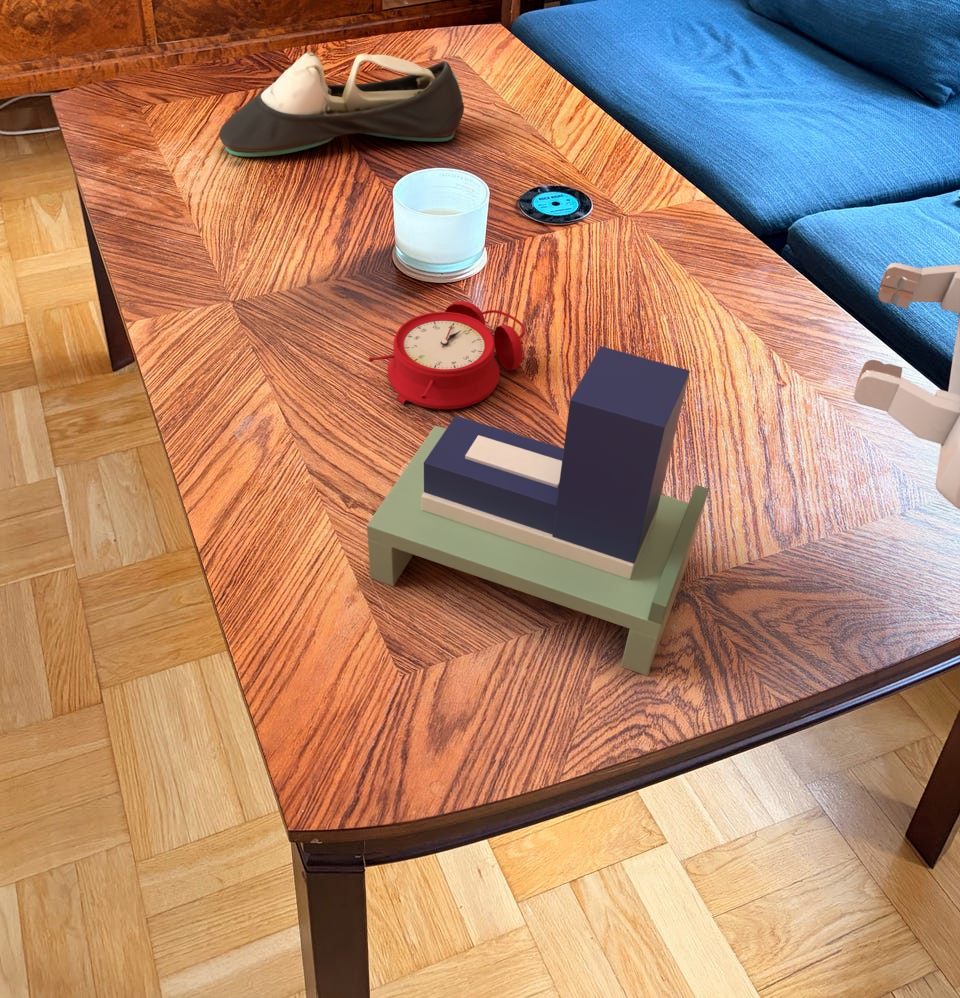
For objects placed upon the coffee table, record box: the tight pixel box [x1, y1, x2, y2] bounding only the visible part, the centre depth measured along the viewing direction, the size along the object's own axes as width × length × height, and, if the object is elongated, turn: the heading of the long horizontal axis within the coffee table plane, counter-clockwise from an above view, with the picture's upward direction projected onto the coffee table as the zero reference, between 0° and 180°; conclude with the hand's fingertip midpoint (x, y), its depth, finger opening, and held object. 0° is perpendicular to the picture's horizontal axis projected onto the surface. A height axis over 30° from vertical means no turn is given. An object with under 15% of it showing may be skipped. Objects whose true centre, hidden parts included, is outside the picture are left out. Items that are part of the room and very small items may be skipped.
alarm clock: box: [368, 300, 526, 410], centre depth 93 cm, size 10×6×15 cm
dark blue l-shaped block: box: [422, 345, 691, 580], centre depth 68 cm, size 16×6×14 cm, turn 67°
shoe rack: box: [366, 425, 710, 677], centre depth 75 cm, size 22×12×8 cm, turn 67°
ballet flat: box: [218, 51, 465, 158], centre depth 123 cm, size 10×30×10 cm, turn 106°
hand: (871, 327), depth 53 cm, fingers open, 8 cm apart
